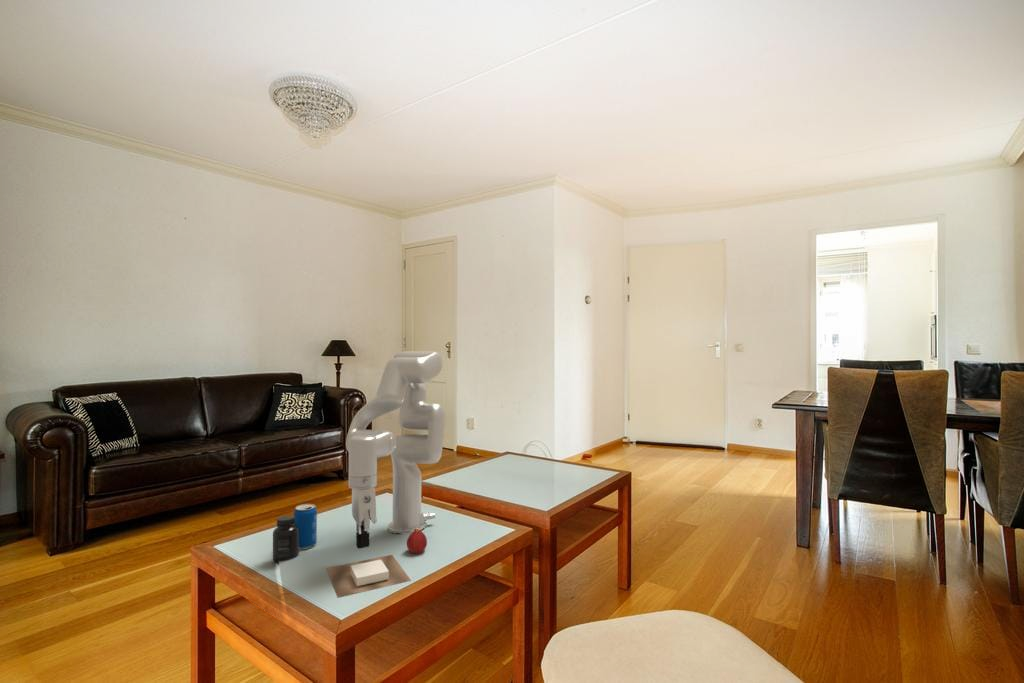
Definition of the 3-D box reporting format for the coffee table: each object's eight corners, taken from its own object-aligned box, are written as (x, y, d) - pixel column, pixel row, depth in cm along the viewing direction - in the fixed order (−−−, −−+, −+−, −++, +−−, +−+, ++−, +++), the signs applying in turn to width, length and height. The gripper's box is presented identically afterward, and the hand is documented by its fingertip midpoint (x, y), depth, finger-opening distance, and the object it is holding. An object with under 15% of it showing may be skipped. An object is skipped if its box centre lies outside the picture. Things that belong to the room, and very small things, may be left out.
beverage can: (308, 551, 146) (308, 510, 146) (288, 549, 147) (289, 509, 147) (320, 542, 152) (321, 504, 152) (302, 541, 153) (302, 502, 153)
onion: (409, 551, 146) (409, 524, 146) (428, 551, 146) (428, 524, 146) (404, 559, 140) (404, 531, 140) (424, 559, 140) (424, 531, 140)
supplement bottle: (304, 556, 142) (304, 515, 142) (286, 566, 135) (286, 523, 135) (285, 553, 144) (285, 512, 144) (266, 563, 137) (267, 520, 138)
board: (392, 558, 140) (392, 554, 140) (411, 585, 125) (411, 580, 125) (326, 572, 132) (326, 568, 132) (337, 602, 116) (337, 597, 116)
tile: (381, 559, 132) (388, 571, 125) (381, 567, 132) (388, 580, 125) (350, 565, 128) (356, 578, 121) (350, 574, 128) (356, 587, 121)
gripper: (383, 485, 130) (383, 554, 130) (370, 472, 143) (370, 534, 143) (354, 489, 126) (354, 560, 126) (343, 475, 139) (343, 539, 139)
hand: (362, 546), depth 135 cm, fingers closed
